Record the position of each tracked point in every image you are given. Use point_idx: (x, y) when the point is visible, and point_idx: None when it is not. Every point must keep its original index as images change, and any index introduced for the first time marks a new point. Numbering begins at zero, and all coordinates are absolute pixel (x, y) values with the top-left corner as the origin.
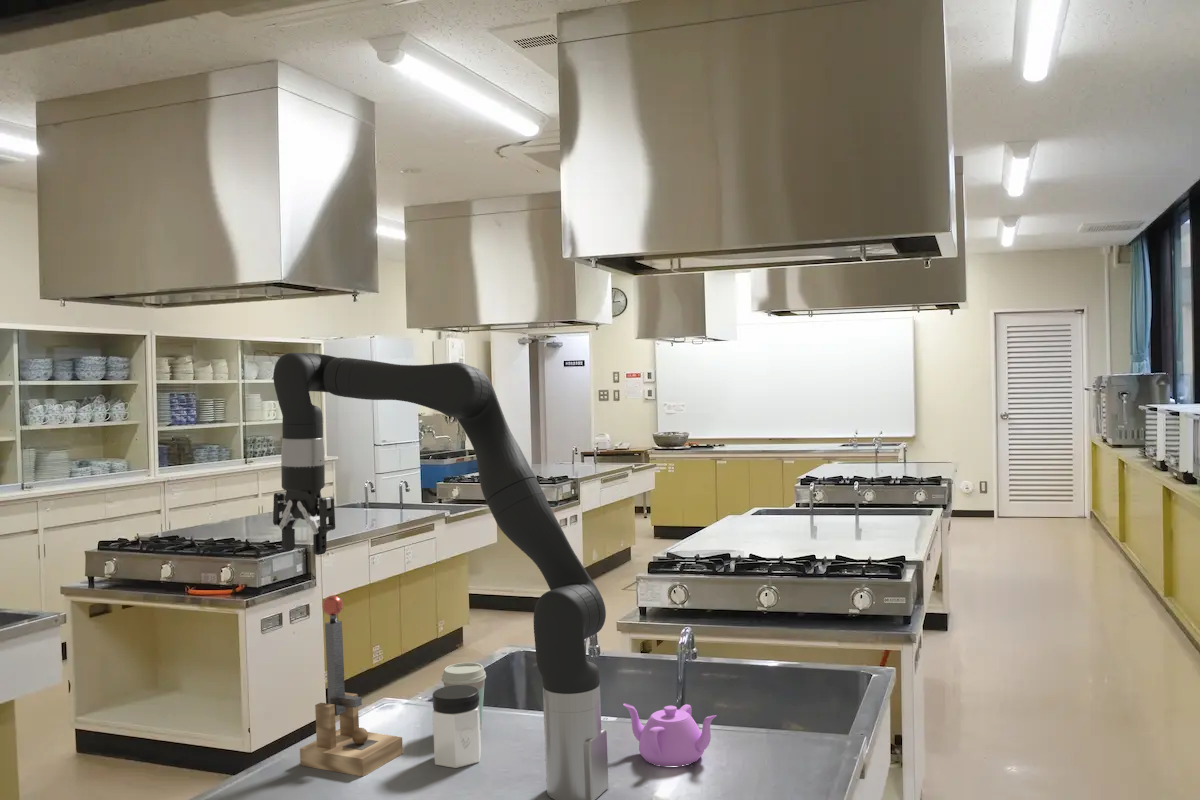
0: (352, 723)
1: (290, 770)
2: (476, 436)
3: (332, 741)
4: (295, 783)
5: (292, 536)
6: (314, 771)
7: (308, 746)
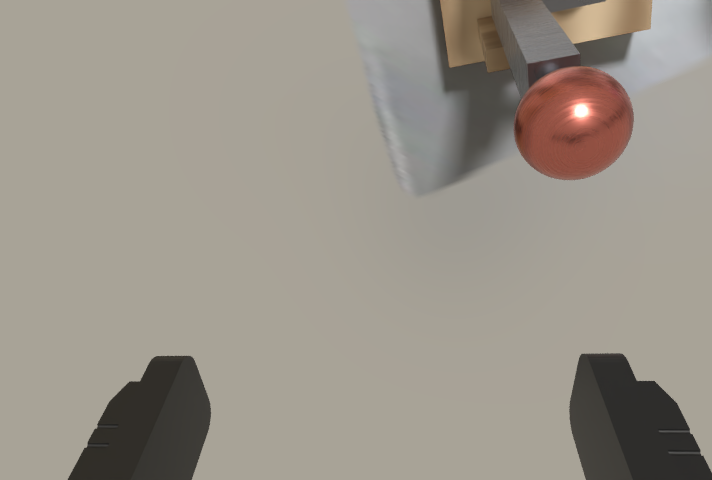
0: None
1: (450, 83)
2: None
3: None
4: None
5: (152, 460)
6: None
7: (457, 47)
